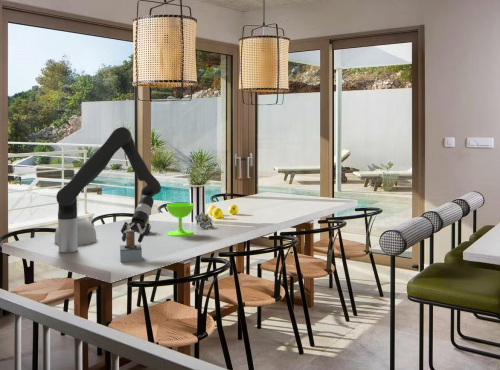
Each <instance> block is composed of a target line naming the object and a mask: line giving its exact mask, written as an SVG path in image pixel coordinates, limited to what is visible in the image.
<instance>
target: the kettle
mask: <svg viewBox="0 0 500 370" xmlns="http://www.w3.org/2000/svg"><path fill="white" fill-rule="evenodd" d="M58 234H59V232H58V226H57V227H56V229H55V233H54V244H56V245H58ZM96 241H97V232H96V229H95V227H94V225H93V224H92V223H91V221H90V220H88V219H86V218H85V217H83V216H77V243H78V246H80V245H88V244H93V243H95V242H96Z"/></svg>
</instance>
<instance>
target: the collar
mask: <svg viewBox="0 0 500 370" xmlns="http://www.w3.org/2000/svg"><path fill="white" fill-rule="evenodd" d="M119 253H120V254H119V257H120V260H119V261H120V262H121V263H129V262H142V261H143V254H142V253H143V250H142V245H141V243H140V244H135V248H126V244H123V245H121V244H120V245H119Z"/></svg>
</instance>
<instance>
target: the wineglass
mask: <svg viewBox="0 0 500 370" xmlns="http://www.w3.org/2000/svg"><path fill="white" fill-rule="evenodd" d="M166 208H167V211H168V213H169V214H170V215H171V216H173V217H174V218H177V219H178V228H177V229H176V230H171V231H168V232H167V233H166V235H167V236H169V237H172V238H174V237H175V238H183V237H191V236H193V234H195V233H194V232H193V231H192V230H186V229H184V228H183V218H186V217H188V216H189V215H190V214H191V213H192V211H193V209H194V203H192V202H172V203H171V202H170V203H167V204H166Z"/></svg>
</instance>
